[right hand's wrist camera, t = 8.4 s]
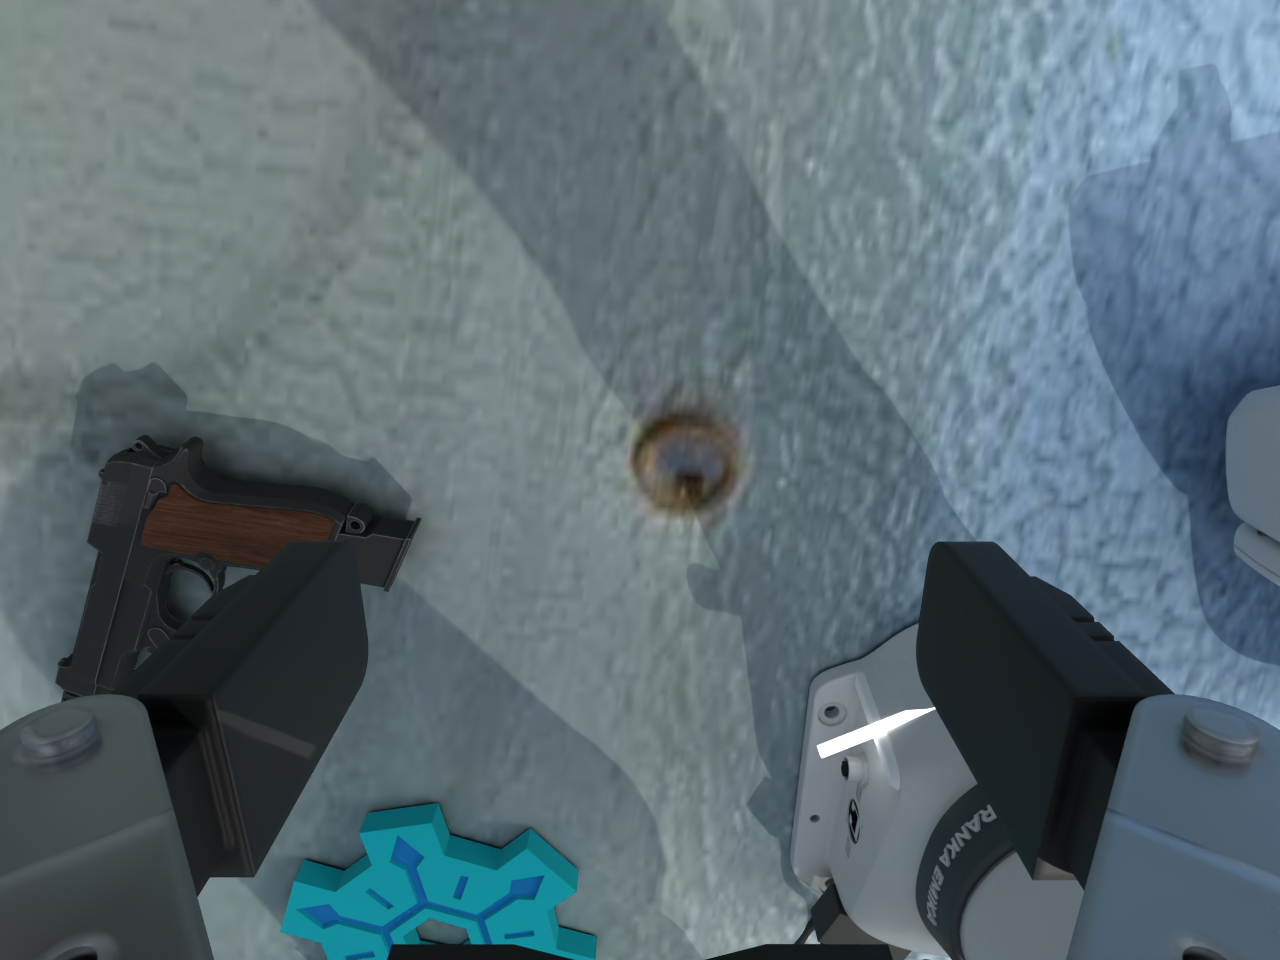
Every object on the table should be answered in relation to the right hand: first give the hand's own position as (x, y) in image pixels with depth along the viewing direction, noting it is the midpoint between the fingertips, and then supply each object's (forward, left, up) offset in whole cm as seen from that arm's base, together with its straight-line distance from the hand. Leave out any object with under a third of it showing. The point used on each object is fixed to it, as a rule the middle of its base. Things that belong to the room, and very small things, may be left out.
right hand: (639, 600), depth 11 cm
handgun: (+17, -23, -29) cm, 41 cm away
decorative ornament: (+41, -13, -29) cm, 52 cm away
